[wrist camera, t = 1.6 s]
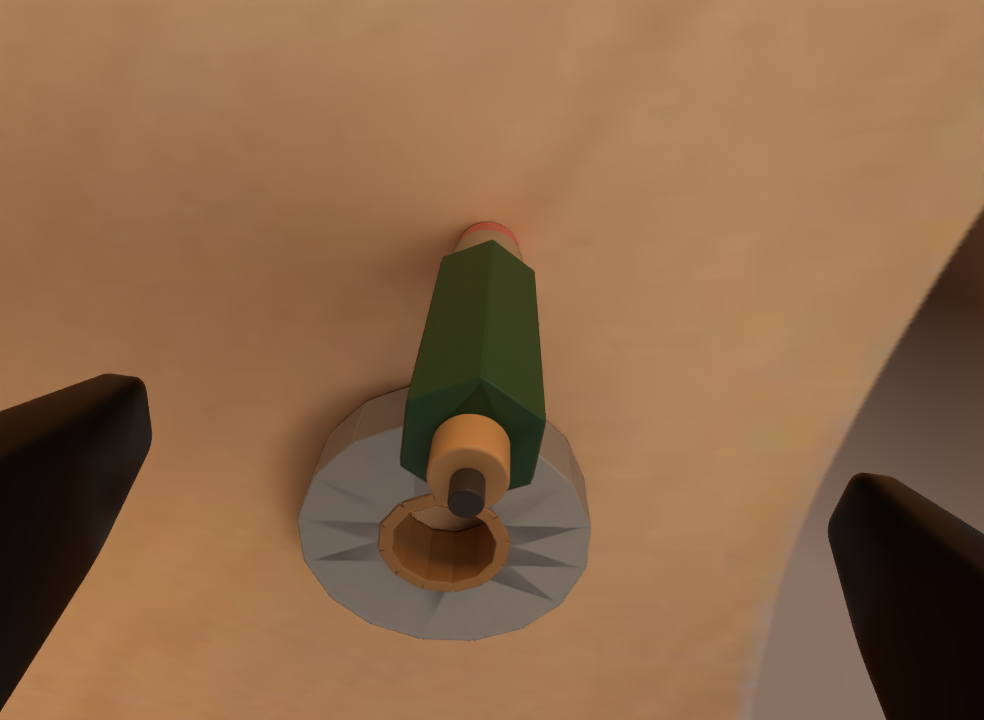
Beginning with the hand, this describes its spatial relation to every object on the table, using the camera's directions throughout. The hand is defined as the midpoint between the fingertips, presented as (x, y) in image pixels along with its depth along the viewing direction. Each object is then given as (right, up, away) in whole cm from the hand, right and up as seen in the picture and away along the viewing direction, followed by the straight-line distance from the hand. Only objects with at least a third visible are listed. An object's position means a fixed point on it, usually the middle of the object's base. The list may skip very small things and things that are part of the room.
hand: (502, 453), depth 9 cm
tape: (-2, -4, +17) cm, 17 cm away
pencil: (0, +5, +12) cm, 13 cm away
